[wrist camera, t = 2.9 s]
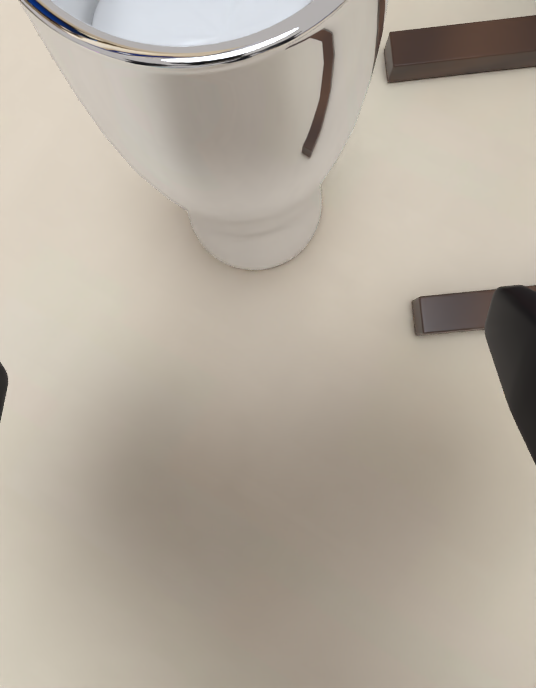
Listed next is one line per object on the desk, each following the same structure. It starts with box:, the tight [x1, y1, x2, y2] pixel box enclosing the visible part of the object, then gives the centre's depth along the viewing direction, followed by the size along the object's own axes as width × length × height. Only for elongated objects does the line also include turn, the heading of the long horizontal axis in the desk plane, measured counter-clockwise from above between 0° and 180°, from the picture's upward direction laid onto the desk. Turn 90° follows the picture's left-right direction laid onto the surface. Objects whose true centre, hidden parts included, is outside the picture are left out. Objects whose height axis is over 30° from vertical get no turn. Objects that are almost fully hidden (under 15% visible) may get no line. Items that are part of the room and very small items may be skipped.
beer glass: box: [18, 0, 388, 270], centre depth 14 cm, size 7×7×15 cm
